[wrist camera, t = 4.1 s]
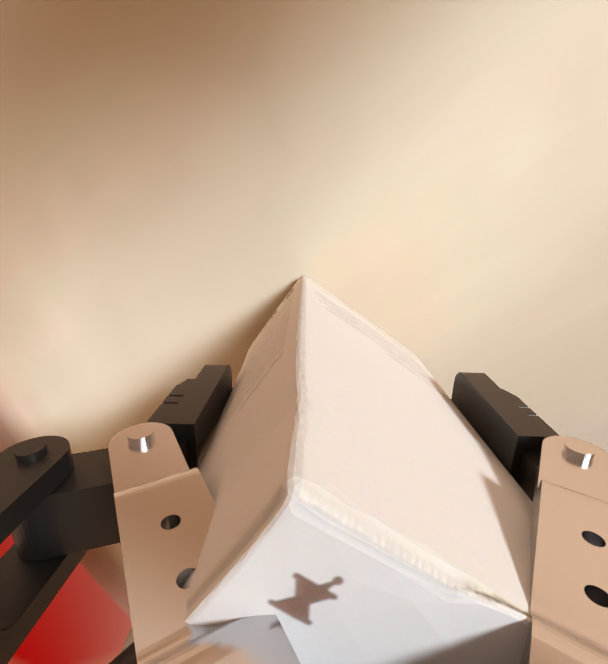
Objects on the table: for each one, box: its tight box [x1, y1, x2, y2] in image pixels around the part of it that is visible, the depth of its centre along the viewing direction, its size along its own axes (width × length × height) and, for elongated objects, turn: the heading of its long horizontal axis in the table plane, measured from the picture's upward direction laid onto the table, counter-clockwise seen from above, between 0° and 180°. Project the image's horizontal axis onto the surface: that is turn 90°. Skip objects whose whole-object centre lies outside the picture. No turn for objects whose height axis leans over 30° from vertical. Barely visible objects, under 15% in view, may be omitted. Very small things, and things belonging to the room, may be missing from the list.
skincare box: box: [122, 275, 533, 664], centre depth 10 cm, size 6×4×12 cm
